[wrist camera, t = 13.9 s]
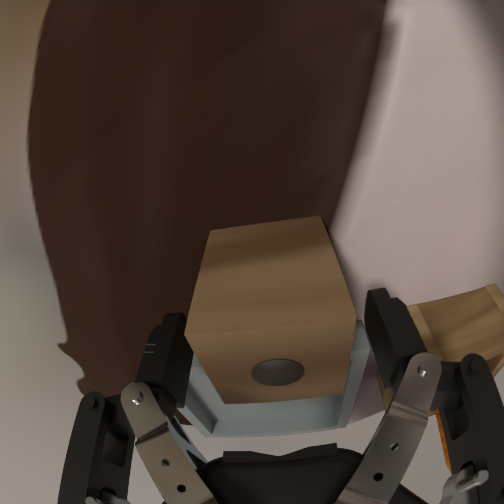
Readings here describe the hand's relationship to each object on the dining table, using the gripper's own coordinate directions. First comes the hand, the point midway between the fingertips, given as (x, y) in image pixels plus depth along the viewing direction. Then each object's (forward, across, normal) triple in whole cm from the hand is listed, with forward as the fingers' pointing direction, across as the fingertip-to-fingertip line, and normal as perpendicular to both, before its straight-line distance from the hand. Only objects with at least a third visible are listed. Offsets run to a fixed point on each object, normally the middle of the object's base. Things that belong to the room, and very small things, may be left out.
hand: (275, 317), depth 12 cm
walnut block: (+3, 0, 0) cm, 3 cm away
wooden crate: (+3, -12, +8) cm, 15 cm away
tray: (+3, +2, +12) cm, 12 cm away
